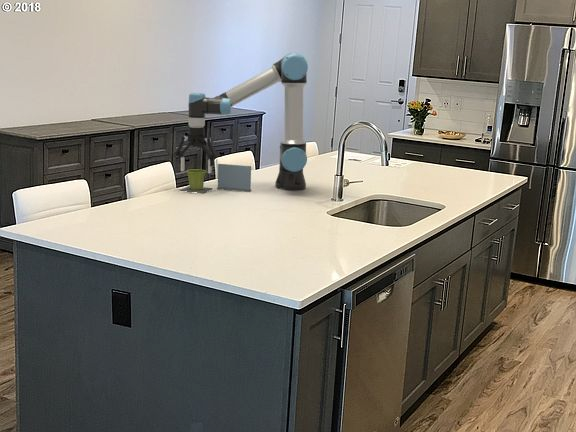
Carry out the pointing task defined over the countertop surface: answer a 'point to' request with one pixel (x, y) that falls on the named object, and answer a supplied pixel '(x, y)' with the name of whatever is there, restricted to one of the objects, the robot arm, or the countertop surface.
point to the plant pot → (196, 178)
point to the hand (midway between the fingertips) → (196, 172)
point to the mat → (196, 190)
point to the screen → (234, 177)
